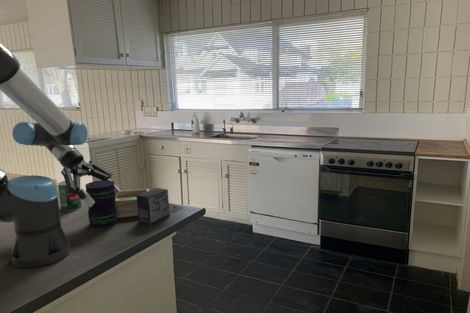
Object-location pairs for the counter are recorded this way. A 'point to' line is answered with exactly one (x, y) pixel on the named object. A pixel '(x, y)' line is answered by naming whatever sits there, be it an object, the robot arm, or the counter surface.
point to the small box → (153, 205)
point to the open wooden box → (128, 202)
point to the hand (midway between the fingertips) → (106, 198)
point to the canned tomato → (68, 198)
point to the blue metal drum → (102, 204)
